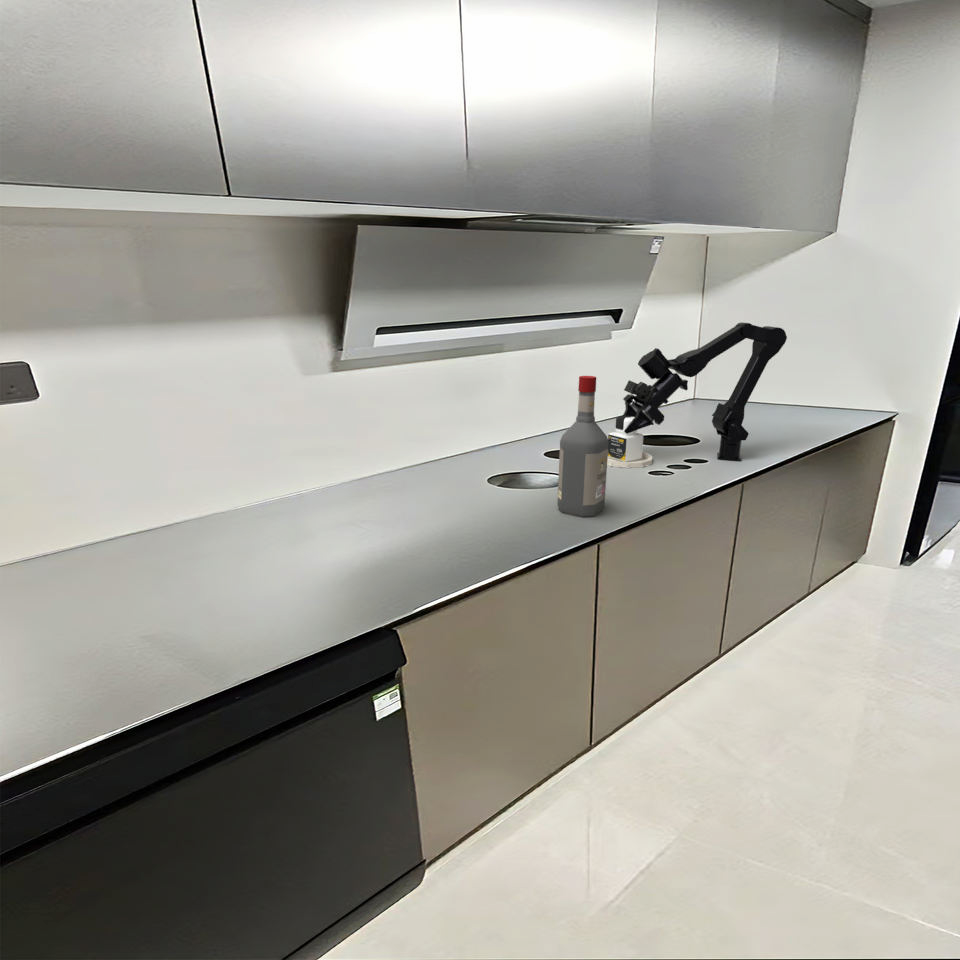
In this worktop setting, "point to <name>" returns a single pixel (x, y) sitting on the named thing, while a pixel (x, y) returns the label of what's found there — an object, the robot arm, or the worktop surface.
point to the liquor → (583, 459)
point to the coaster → (632, 461)
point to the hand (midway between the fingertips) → (621, 430)
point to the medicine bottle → (625, 441)
